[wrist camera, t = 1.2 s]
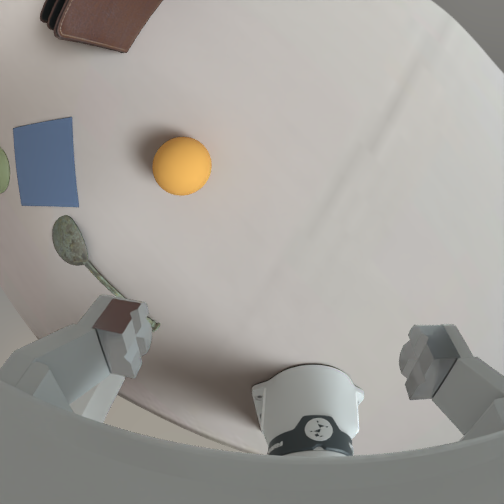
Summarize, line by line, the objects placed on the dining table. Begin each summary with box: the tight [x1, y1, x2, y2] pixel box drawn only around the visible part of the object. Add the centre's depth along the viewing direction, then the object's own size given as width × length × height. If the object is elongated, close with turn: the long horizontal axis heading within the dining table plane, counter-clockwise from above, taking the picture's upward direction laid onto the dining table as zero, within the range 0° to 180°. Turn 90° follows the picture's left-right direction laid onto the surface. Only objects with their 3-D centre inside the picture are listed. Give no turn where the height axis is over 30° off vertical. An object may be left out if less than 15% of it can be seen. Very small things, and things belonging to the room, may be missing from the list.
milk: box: [69, 373, 125, 423], centre depth 40 cm, size 6×6×22 cm
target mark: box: [13, 117, 79, 207], centre depth 34 cm, size 12×12×1 cm
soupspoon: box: [53, 215, 160, 332], centre depth 41 cm, size 22×3×7 cm
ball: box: [152, 137, 211, 195], centre depth 30 cm, size 6×6×6 cm
